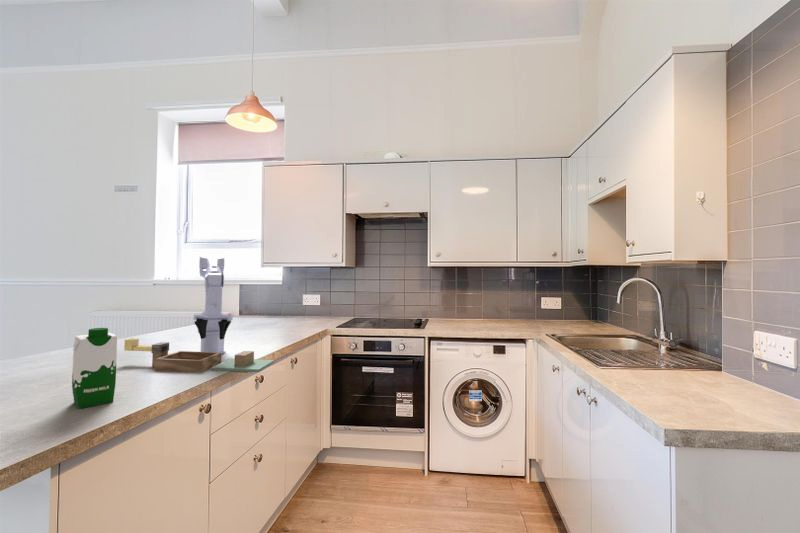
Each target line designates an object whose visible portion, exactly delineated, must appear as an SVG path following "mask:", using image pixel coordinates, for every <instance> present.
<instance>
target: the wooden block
mask: <svg viewBox="0 0 800 533" xmlns="http://www.w3.org/2000/svg"><path fill="white" fill-rule="evenodd" d="M139 340H140V339H139V338H128V339H127V338H126V339H124V349H123V351H125V352H130V351H131V352H152V345H140V343H139ZM162 350H163V347H161V351H162Z"/></svg>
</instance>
